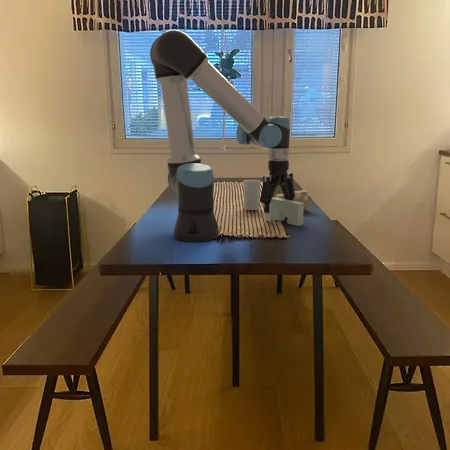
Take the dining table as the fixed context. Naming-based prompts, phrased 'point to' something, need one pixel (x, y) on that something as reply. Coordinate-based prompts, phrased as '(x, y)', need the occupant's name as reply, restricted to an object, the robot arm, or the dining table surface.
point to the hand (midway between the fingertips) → (277, 218)
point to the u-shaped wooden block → (298, 197)
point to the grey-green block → (287, 210)
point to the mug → (251, 194)
